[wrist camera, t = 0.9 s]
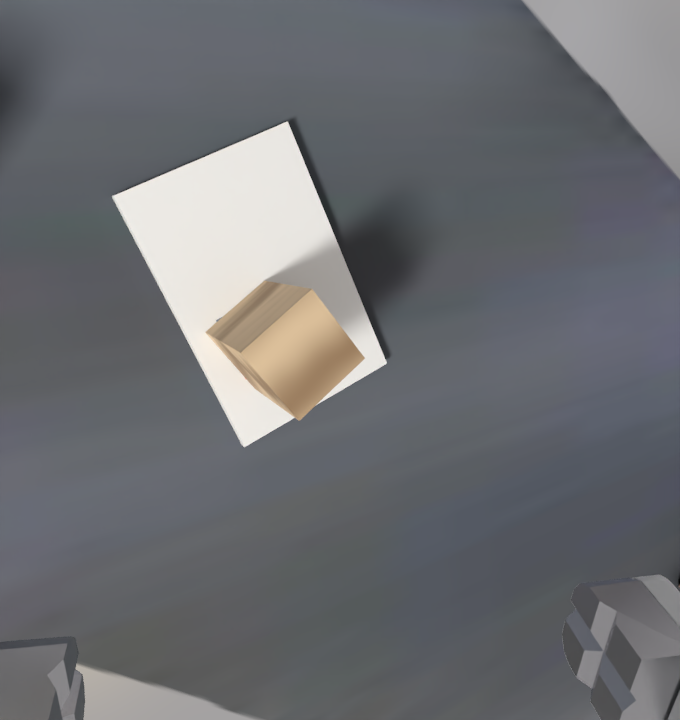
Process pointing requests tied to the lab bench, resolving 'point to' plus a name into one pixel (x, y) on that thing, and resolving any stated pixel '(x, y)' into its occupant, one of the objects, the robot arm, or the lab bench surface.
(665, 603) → the robot arm
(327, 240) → the plate
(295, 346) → the oak block
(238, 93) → the lab bench surface
